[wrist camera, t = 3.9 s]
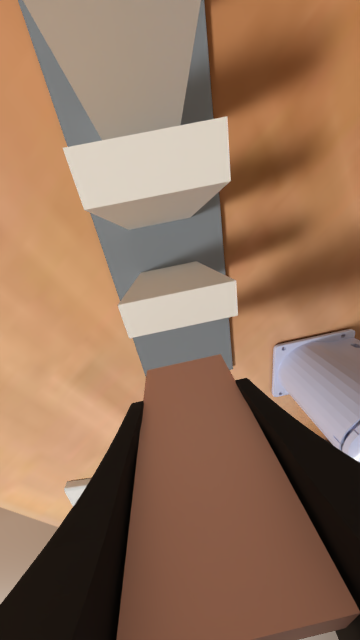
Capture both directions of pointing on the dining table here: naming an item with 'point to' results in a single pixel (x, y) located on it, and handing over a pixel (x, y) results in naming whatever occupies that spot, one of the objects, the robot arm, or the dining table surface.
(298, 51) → the dining table surface
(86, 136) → the mat
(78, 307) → the dining table surface
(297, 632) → the domino
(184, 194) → the domino
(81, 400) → the dining table surface
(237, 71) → the dining table surface
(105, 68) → the domino
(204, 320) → the domino
